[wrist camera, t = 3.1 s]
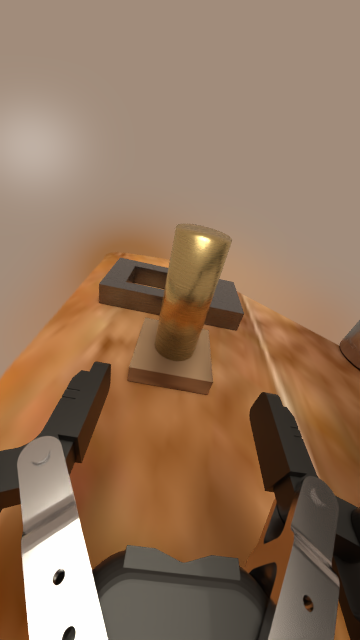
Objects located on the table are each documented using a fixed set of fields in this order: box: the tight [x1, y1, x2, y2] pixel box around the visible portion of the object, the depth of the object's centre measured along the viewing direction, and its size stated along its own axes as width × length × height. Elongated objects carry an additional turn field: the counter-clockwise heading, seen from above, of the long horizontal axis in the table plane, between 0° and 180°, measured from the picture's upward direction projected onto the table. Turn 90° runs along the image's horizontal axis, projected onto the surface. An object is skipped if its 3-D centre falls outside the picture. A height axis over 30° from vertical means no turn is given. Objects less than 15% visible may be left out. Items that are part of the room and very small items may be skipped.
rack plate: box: [99, 258, 244, 330], centre depth 34 cm, size 20×10×3 cm, turn 86°
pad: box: [128, 318, 213, 395], centre depth 24 cm, size 8×8×2 cm
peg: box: [155, 224, 232, 361], centre depth 20 cm, size 4×4×12 cm
